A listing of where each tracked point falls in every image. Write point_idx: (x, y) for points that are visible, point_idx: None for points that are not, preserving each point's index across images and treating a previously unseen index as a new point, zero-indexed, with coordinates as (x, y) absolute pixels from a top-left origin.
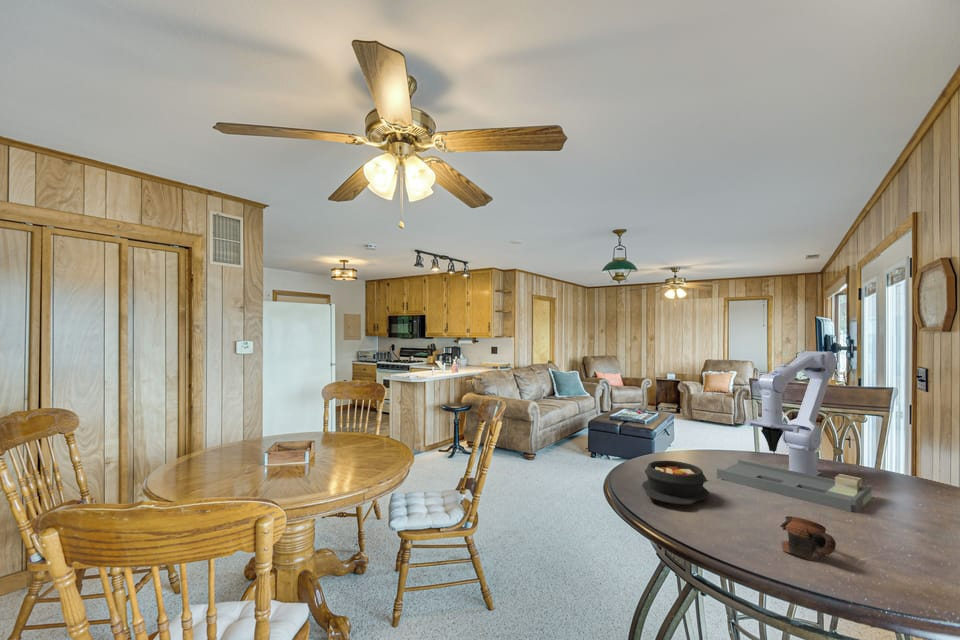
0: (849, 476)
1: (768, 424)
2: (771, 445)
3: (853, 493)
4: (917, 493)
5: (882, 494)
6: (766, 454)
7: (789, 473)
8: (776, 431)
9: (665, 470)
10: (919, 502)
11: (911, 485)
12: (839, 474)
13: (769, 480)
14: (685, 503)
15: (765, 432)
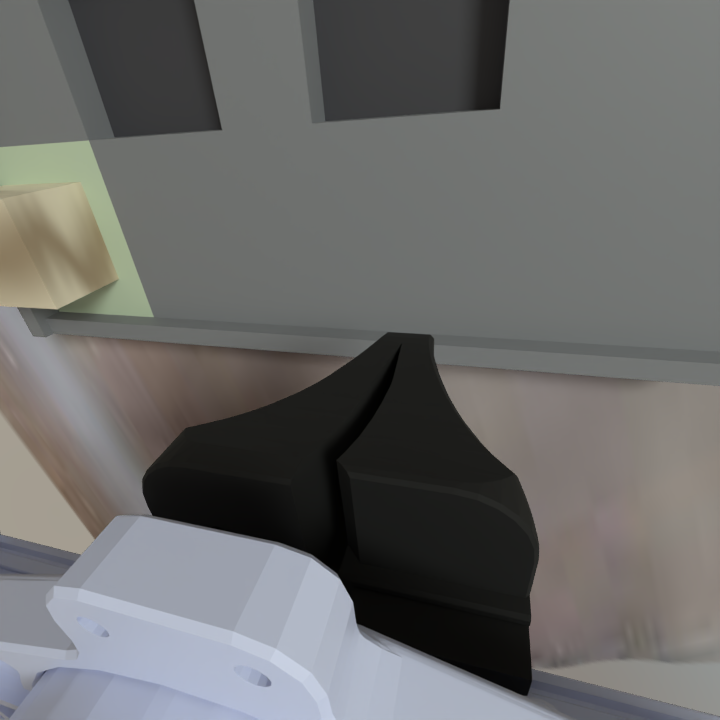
0: (10, 292)
1: (182, 670)
2: (390, 356)
3: (10, 186)
4: (88, 463)
5: (102, 385)
6: (593, 651)
7: (360, 332)
8: (171, 481)
9: None
10: (24, 377)
11: None
12: (48, 294)
13: (422, 114)
14: None
15: (420, 460)
